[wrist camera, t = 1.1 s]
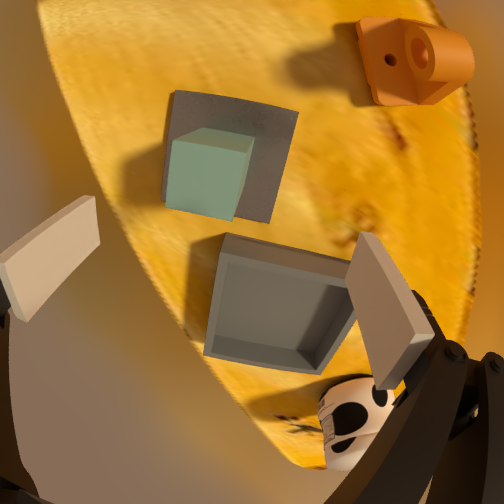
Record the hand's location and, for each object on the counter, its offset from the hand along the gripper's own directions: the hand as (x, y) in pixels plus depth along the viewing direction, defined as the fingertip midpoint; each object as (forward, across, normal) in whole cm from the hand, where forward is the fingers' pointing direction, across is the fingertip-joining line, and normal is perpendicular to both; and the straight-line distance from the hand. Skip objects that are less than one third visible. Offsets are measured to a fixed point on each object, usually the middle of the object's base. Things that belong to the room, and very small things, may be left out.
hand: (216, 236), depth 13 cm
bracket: (+21, +14, +15) cm, 30 cm away
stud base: (+21, -3, 0) cm, 21 cm away
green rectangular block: (+20, -3, 0) cm, 20 cm away
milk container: (+23, +29, -45) cm, 58 cm away
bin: (+22, +7, -21) cm, 31 cm away
